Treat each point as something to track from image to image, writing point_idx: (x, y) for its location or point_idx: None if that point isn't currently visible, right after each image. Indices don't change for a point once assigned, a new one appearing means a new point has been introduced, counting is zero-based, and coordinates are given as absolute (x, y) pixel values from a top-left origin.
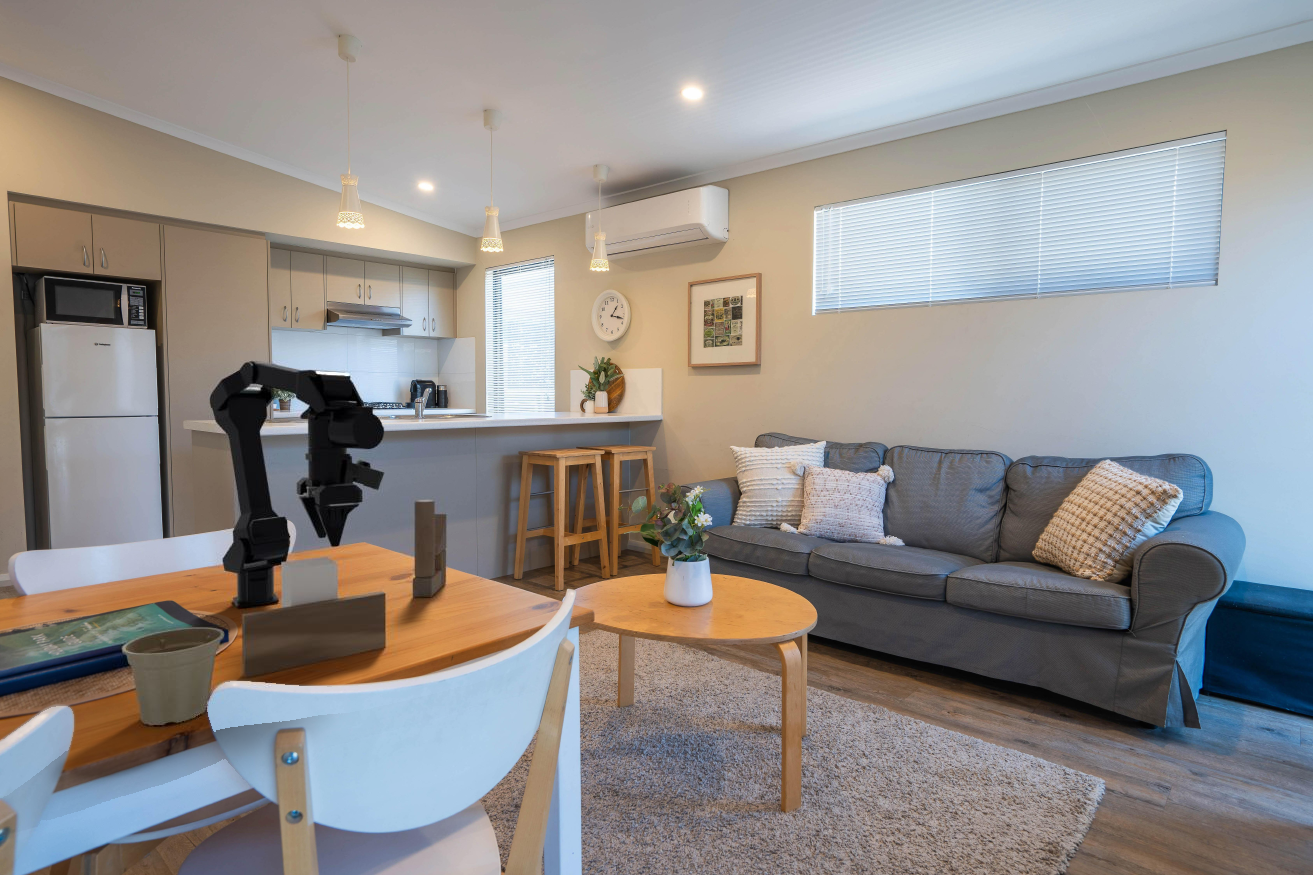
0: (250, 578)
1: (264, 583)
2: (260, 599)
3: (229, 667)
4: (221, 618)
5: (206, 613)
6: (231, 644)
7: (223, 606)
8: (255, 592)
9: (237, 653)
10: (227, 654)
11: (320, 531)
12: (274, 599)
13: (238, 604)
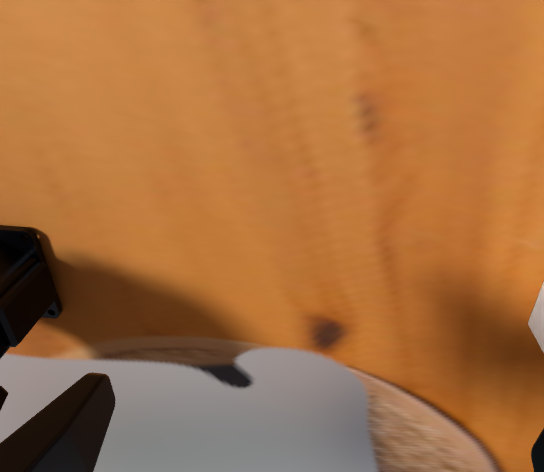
0: (1, 349)
1: (13, 307)
2: (46, 283)
3: (534, 404)
4: (138, 347)
5: (78, 358)
6: (371, 373)
7: None
8: (36, 309)
9: (450, 379)
10: (440, 390)
11: (89, 442)
12: (20, 240)
13: (47, 314)
